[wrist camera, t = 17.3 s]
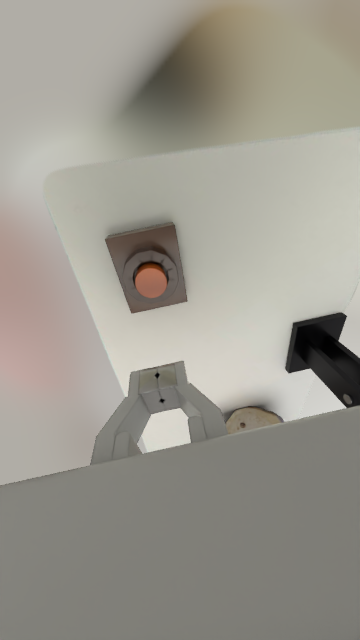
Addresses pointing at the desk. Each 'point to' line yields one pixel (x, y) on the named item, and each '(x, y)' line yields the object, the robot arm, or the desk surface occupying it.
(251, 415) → the potted plant
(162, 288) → the button
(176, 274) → the button block
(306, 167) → the desk surface
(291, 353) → the bracket
